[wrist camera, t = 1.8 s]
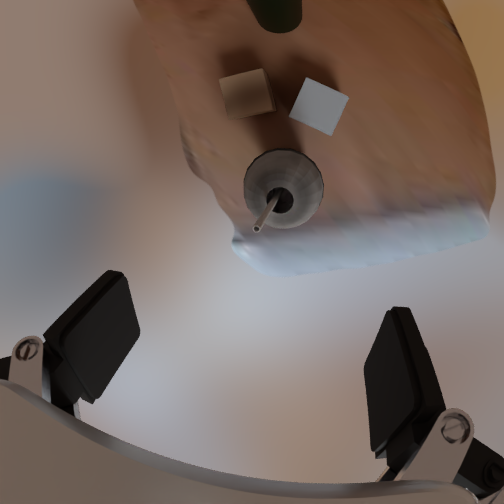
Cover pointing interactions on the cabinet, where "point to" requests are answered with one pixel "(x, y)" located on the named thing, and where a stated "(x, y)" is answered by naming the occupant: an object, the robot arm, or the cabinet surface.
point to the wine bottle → (277, 14)
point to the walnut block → (247, 94)
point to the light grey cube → (318, 106)
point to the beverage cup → (282, 188)
